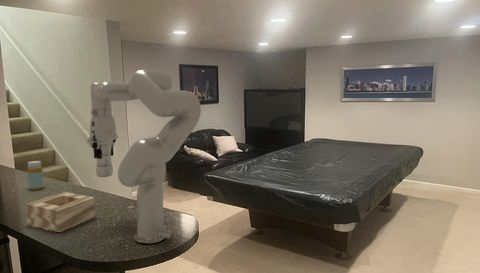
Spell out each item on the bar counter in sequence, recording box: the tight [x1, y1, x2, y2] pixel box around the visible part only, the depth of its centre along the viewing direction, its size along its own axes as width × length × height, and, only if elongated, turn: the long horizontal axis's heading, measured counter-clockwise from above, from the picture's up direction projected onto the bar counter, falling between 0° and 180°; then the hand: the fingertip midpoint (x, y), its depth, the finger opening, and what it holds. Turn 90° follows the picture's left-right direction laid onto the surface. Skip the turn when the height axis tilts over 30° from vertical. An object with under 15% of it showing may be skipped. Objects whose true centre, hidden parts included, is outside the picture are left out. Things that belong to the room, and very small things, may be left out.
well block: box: [25, 191, 96, 233], centre depth 142 cm, size 18×18×9 cm
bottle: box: [27, 160, 44, 191], centre depth 185 cm, size 7×7×15 cm
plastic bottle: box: [95, 139, 114, 178], centre depth 140 cm, size 6×7×20 cm
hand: (103, 156), depth 140 cm, fingers closed on plastic bottle, 6 cm apart
